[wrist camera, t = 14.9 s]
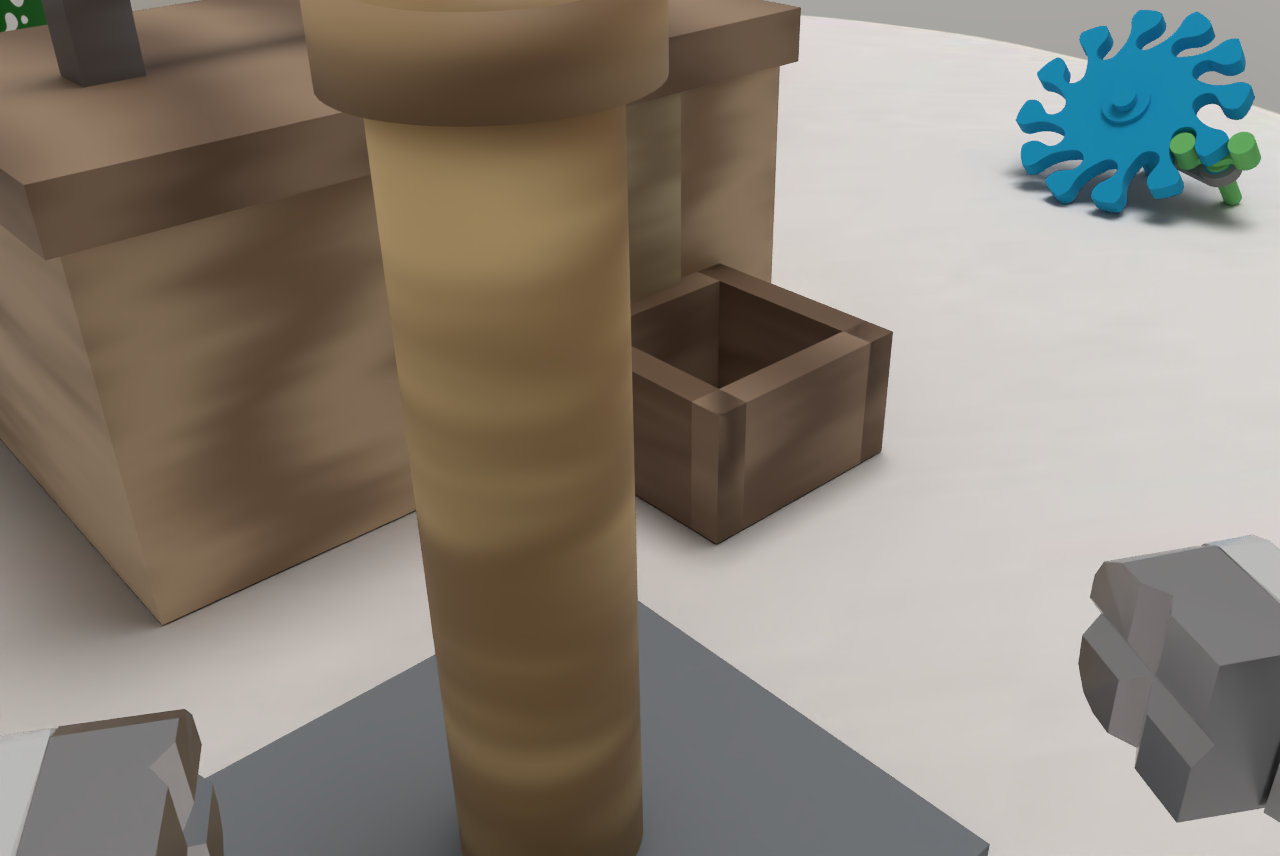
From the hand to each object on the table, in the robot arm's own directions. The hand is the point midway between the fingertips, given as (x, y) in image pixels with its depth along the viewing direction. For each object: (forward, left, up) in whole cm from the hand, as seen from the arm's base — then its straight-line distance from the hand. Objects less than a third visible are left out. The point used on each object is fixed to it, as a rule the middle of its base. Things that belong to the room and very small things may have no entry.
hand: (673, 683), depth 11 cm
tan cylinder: (+4, +8, -12) cm, 15 cm away
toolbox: (+12, +24, -12) cm, 29 cm away
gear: (+47, +20, -12) cm, 52 cm away
